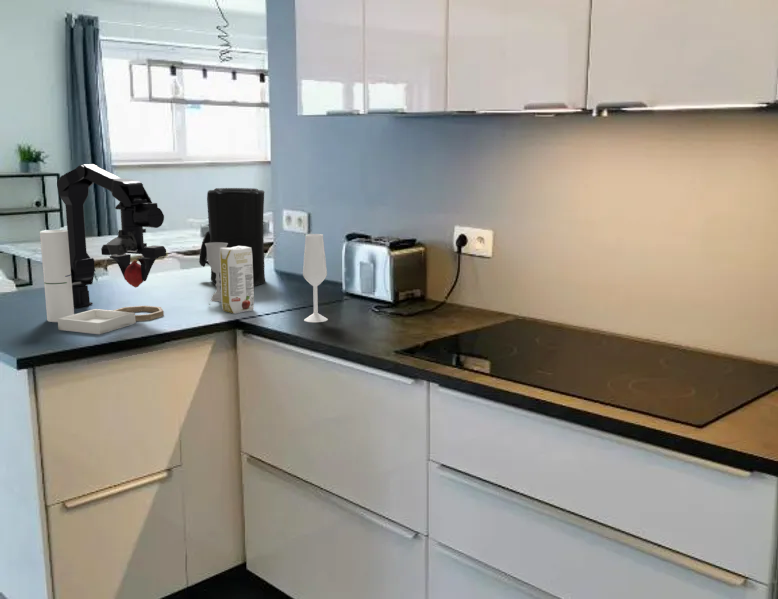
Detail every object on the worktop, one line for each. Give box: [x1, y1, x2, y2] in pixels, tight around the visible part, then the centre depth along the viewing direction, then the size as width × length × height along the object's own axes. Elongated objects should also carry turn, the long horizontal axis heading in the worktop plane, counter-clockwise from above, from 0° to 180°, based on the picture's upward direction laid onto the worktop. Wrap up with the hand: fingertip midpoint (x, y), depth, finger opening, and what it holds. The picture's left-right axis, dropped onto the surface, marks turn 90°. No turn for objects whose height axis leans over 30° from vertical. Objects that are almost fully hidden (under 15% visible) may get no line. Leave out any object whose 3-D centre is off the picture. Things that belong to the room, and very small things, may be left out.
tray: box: [57, 308, 137, 335], centre depth 217 cm, size 14×14×3 cm
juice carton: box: [220, 246, 255, 315], centre depth 235 cm, size 8×9×19 cm
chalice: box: [205, 242, 228, 302], centre depth 252 cm, size 7×7×18 cm
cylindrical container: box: [39, 229, 75, 323], centre depth 223 cm, size 7×7×25 cm
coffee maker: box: [198, 187, 266, 287], centre depth 281 cm, size 23×32×34 cm
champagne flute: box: [302, 233, 329, 323], centre depth 223 cm, size 7×7×24 cm
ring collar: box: [112, 305, 165, 322], centre depth 230 cm, size 14×14×2 cm
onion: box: [123, 259, 144, 288], centre depth 228 cm, size 6×6×8 cm
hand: (135, 280), depth 228 cm, fingers closed on onion, 6 cm apart
